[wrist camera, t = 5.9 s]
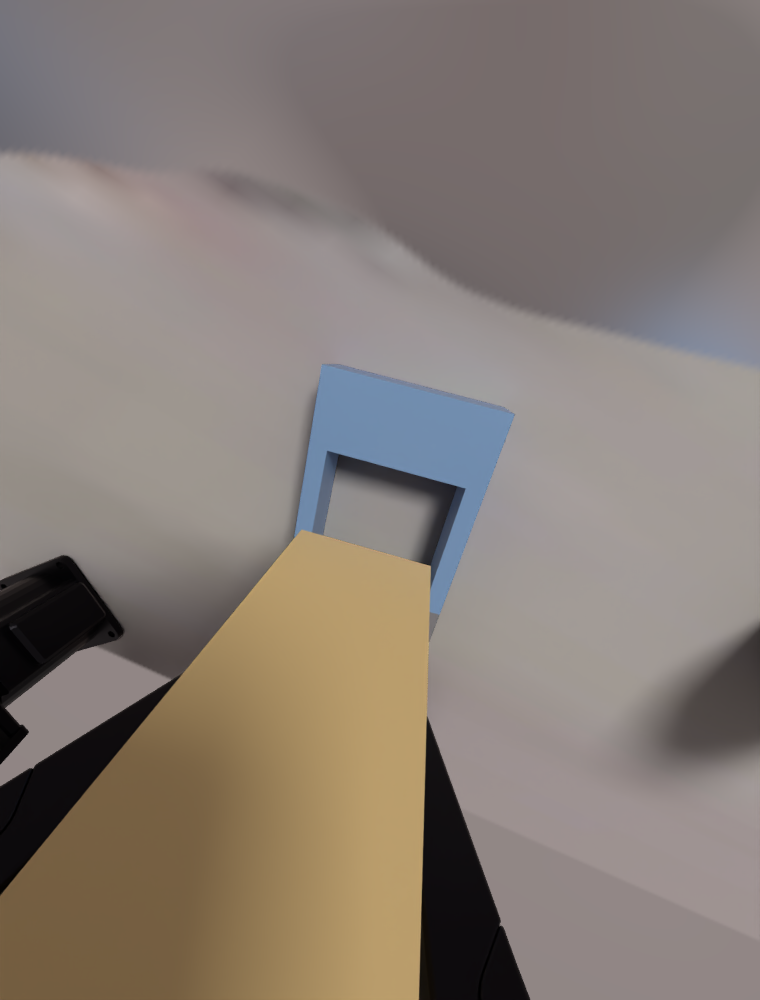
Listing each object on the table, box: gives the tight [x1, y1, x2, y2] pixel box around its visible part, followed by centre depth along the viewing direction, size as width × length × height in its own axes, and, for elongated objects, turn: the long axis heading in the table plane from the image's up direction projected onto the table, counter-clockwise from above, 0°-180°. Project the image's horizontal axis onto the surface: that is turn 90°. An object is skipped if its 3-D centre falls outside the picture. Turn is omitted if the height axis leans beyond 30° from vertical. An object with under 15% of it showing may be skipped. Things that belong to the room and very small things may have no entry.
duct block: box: [294, 364, 515, 641], centre depth 18 cm, size 19×8×2 cm, turn 167°
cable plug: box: [0, 530, 431, 1000], centre depth 7 cm, size 4×4×9 cm
